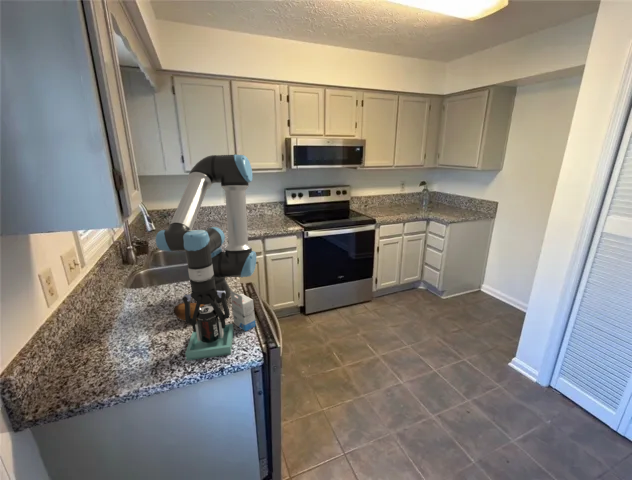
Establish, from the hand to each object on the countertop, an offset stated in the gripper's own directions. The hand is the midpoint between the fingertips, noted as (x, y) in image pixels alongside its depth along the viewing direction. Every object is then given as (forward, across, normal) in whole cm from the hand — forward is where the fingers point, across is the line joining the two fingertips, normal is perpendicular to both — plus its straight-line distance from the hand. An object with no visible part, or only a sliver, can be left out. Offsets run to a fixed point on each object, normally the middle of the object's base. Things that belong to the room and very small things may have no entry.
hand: (211, 337), depth 102 cm
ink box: (+3, +11, +10) cm, 15 cm away
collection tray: (+3, 0, 0) cm, 3 cm away
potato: (+3, -10, +19) cm, 22 cm away
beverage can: (+1, 0, 0) cm, 1 cm away
